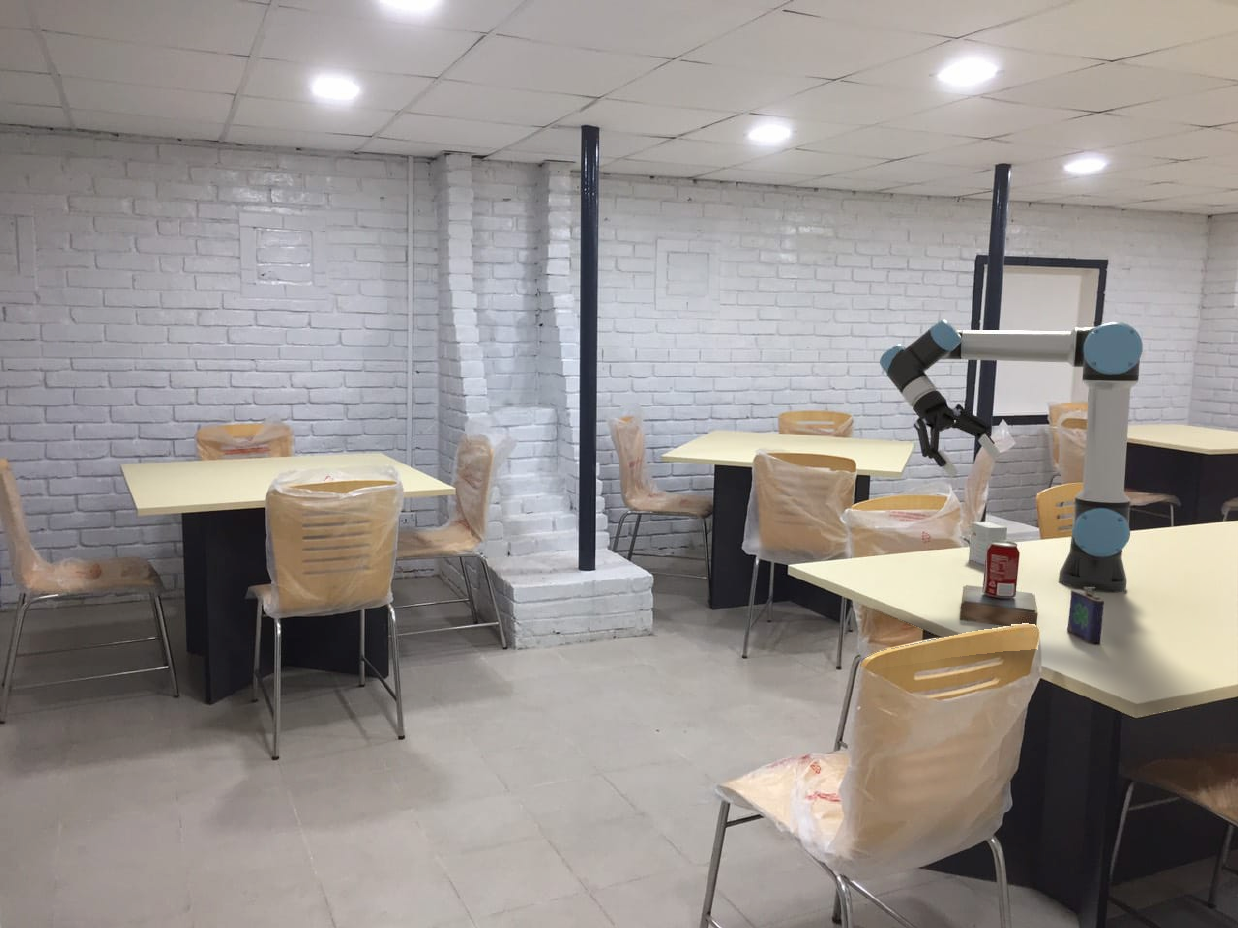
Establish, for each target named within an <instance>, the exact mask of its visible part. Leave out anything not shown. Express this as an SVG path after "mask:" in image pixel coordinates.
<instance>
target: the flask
mask: <svg viewBox="0 0 1238 928" xmlns="http://www.w3.org/2000/svg"><path fill="white" fill-rule="evenodd" d="M1093 589H1095V587H1084V589H1083V590H1085V591H1083V590H1080V589H1071V590H1070V600H1069V601H1070V602H1069V603H1070V604H1069V609H1068V610H1069V611H1068V612H1069V613H1068V621H1067V627H1066V631H1067V633H1069V634H1072V635H1073V636H1075V637H1077V638H1078V639H1081V640H1083V641H1084V642H1086V643H1088V644H1091V645H1094V646H1099V645H1101V637H1102V636H1101V635H1102V627H1103V626H1102V625H1103V615H1104V605H1105V601H1104V600H1103V598H1100V596H1098V595H1096V592H1095V591H1093Z"/></svg>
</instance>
